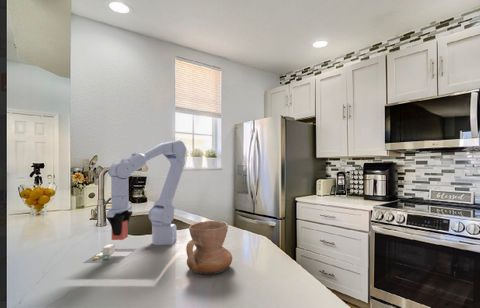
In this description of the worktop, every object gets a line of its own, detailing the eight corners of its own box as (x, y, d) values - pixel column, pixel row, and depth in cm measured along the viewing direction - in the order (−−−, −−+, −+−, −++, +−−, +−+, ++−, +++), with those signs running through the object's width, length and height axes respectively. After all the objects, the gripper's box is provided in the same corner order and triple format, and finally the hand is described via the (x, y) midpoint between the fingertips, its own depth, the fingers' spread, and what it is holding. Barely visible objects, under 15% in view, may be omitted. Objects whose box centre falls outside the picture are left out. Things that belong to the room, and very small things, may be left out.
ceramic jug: (211, 256, 97) (210, 217, 97) (243, 264, 88) (242, 221, 89) (171, 274, 83) (169, 228, 83) (205, 287, 74) (203, 235, 74)
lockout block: (127, 236, 99) (127, 220, 99) (122, 239, 95) (122, 222, 95) (117, 236, 99) (117, 220, 99) (111, 239, 95) (111, 222, 95)
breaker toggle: (114, 251, 99) (114, 244, 99) (109, 255, 95) (109, 247, 95) (108, 251, 99) (108, 244, 99) (102, 255, 95) (102, 247, 95)
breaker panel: (136, 252, 103) (136, 247, 103) (118, 267, 89) (118, 260, 89) (105, 252, 103) (105, 247, 103) (82, 267, 89) (82, 260, 89)
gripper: (118, 193, 105) (119, 228, 104) (97, 198, 90) (98, 239, 90) (136, 193, 104) (137, 228, 104) (118, 198, 90) (118, 239, 90)
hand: (120, 233), depth 97 cm, fingers closed on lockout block, 4 cm apart
